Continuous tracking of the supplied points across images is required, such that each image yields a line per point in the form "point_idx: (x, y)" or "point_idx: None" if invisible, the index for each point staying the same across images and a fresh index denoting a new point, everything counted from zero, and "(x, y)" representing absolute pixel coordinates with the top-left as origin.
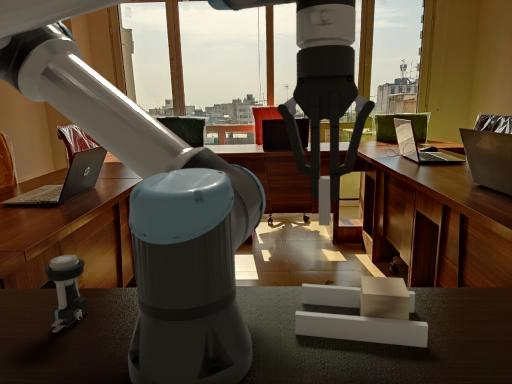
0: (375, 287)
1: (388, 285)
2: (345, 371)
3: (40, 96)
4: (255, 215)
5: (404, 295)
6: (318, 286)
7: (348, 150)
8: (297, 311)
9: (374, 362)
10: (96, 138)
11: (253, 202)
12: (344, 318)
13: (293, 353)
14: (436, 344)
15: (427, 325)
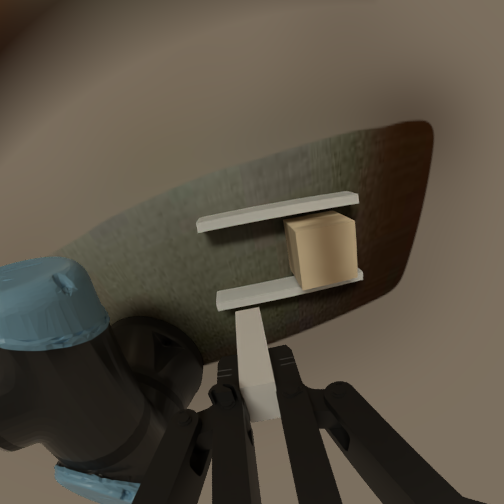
0: (318, 266)
1: (335, 253)
2: (280, 331)
3: None
4: (123, 376)
5: (352, 276)
6: (223, 224)
7: (353, 466)
8: (218, 303)
9: (304, 311)
10: None
11: (114, 397)
12: (276, 298)
13: (228, 326)
14: (361, 260)
15: (362, 278)
